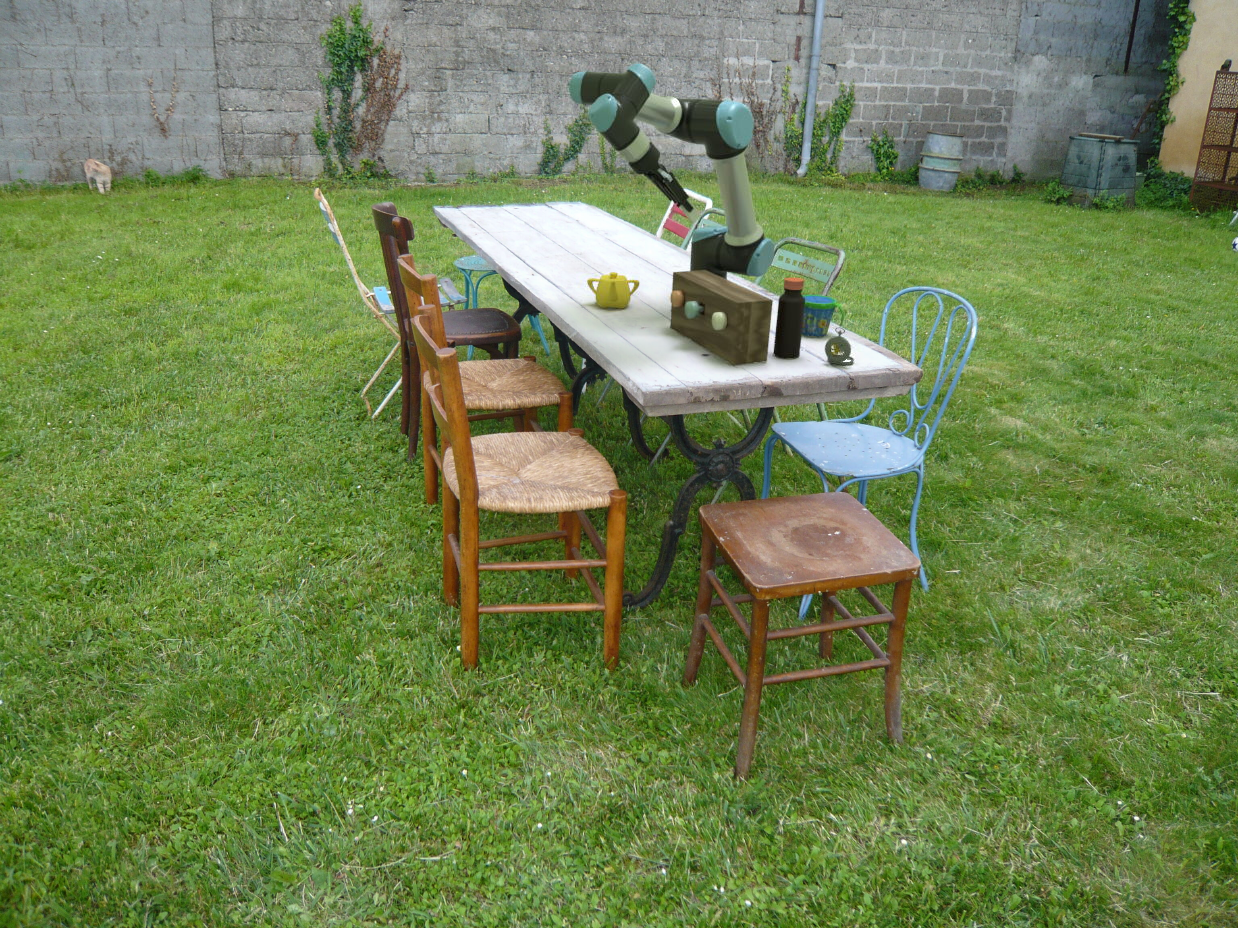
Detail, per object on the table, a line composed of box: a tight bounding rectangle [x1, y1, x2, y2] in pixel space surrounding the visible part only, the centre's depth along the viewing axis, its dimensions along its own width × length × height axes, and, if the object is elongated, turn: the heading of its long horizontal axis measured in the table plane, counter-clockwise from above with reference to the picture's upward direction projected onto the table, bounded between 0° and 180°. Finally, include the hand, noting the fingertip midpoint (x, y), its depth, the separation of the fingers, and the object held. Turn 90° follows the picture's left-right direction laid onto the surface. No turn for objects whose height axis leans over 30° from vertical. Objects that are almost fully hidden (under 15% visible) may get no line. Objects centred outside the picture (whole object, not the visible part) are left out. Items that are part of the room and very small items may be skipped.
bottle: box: [773, 276, 805, 359], centre depth 237 cm, size 7×7×20 cm
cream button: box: [712, 312, 727, 330], centre depth 233 cm, size 6×4×4 cm
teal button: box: [685, 301, 705, 319], centre depth 242 cm, size 6×4×4 cm
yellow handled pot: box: [586, 271, 641, 310], centre depth 281 cm, size 14×13×10 cm
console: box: [669, 270, 774, 366], centre depth 245 cm, size 10×36×16 cm, turn 23°
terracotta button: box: [670, 290, 684, 307], centre depth 253 cm, size 6×4×4 cm
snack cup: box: [802, 294, 845, 338], centre depth 258 cm, size 16×10×10 cm
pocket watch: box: [824, 326, 855, 365], centre depth 234 cm, size 8×8×10 cm
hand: (696, 218), depth 235 cm, fingers closed
